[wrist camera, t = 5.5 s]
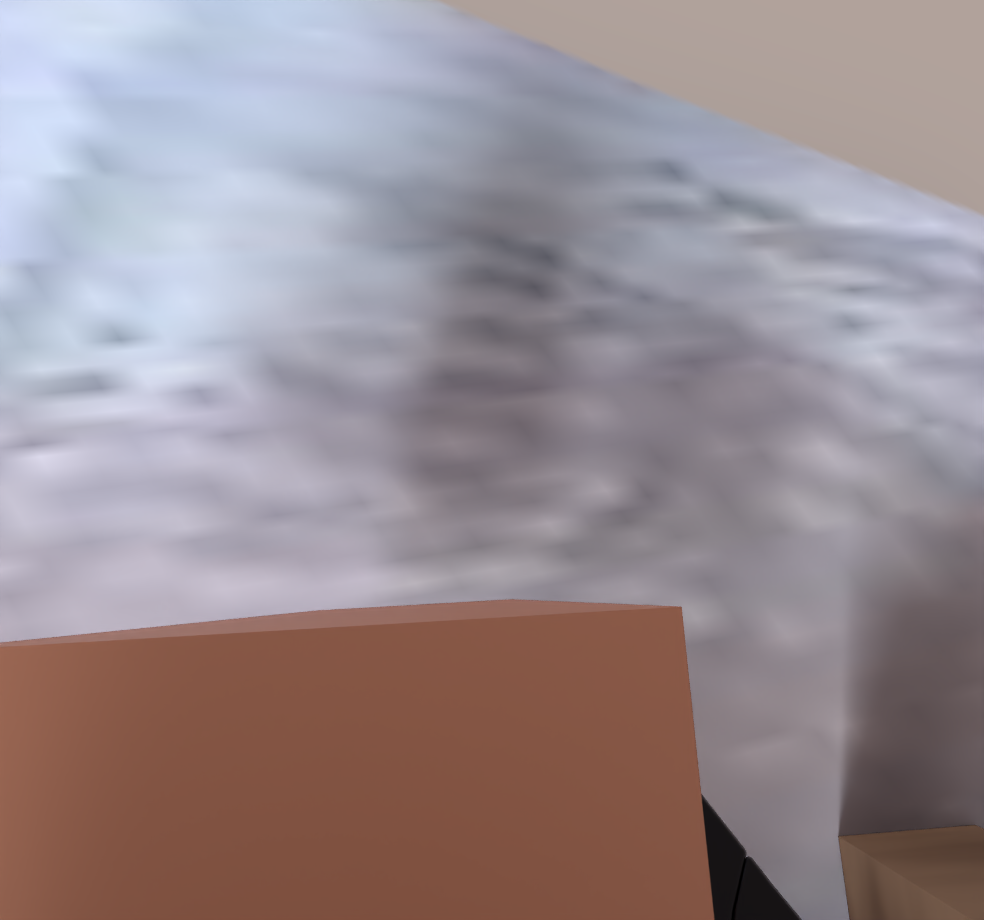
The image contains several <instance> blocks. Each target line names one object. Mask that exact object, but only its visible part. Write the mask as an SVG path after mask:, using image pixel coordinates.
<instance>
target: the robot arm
mask: <svg viewBox="0 0 984 920" xmlns="http://www.w3.org/2000/svg"><path fill="white" fill-rule="evenodd" d="M701 797H702V807H703V816H704V826H705V835H706V845H707V854H708V864H709V873H710V883H711V893H712V902H713V912H714V920H802V919H801V918H800V917H799V916H798V915H797V913H796V912H795V911H794V910H793V909H792V907H791V906H790V905H789V904H788V903H787V901H786V900H785V899H784V898H783V896H782V895H781V894H780V893H779V892H778V890H777V889H776V888H775V887H774V886H773V884H772V883H771V882H770V880H769V879H768V878H767V877H766V875H765V874H764V873H763V871H762V870H761V869H760V868H759V866H758V865H757V864H756V862H755V861H754V860H753V859H752V858H751V857H749V856H748V857H746V850H745V849H744V848H743V846H742V845H741V844H740V842H739V841H738V840H737V839H736V837H735V836H734V835H733V834H732V832H731V831H730V830H729V828H728V827H727V826H726V825H725V823H724V822H723V821H722V820H721V818H720V817H719V816H718V814H717V813H716V812H715V811H714V809H713V808H712V807H711V806H710V804H709V803H708V802H707V800H706V799H705V798H704V797H703V795H702V794H701ZM745 858H746V859H745Z"/></svg>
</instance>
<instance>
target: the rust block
mask: <svg viewBox="0 0 984 920" xmlns="http://www.w3.org/2000/svg"><path fill="white" fill-rule="evenodd" d="M0 920H714V912H713V902H712V893H711V883H710V873H709V864H708V854H707V845H706V835H705V826H704V816H703V807H702V797H701V788H700V778H699V769H698V759H697V750H696V740H695V731H694V721H693V711H692V702H691V692H690V683H689V673H688V664H687V654H686V645H685V635H684V626H683V616H682V607H677V606H653V605H630V604H607V603H584V602H561V601H538V600H515V599H508V600H491V601H473V602H456V603H439V604H421V605H404V606H387V607H369V608H352V609H334V610H317V611H307V612H298V613H288V614H278V615H268V616H258V617H248V618H239V619H229V620H219V621H209V622H199V623H189V624H179V625H170V626H160V627H150V628H140V629H130V630H120V631H111V632H101V633H91V634H81V635H71V636H61V637H52V638H42V639H32V640H22V641H12V642H2V643H0Z"/></svg>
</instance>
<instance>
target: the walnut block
mask: <svg viewBox="0 0 984 920" xmlns="http://www.w3.org/2000/svg"><path fill="white" fill-rule="evenodd" d="M838 837H839V844H840V852H841V859H842V866H843V874H844V881H845V888H846V896H847V903H848V910H849V918H850V920H984V829H983V828H981V827H978V826H976V825H968V826H956V827H944V828H932V829H920V830H908V831H896V832H884V833H872V834H860V835H848V836H838Z"/></svg>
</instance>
